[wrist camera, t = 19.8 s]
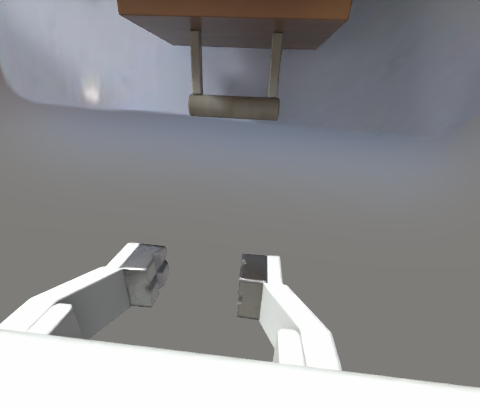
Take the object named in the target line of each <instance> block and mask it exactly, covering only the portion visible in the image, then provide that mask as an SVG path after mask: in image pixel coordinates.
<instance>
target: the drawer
mask: <svg viewBox="0 0 480 408" xmlns="http://www.w3.org/2000/svg"><path fill="white" fill-rule="evenodd" d="M117 4H118V11H119V15H121V16H122V17H124V18H126V19H128V20H130V21H131V22H133V23H135V24H137V25H138V26H140V27H142V28H144V29H145V30H147V31H149V32H151V33H152V34H154V35H156V36H158V37H160V38H161V39H163V40H165V41H167V42H168V43H170V44H172V45H180V46H191V71H192V93H193V94H190V96H189V100H188V108H189V113H190V115H191V116H199V117H218V118H237V119H257V120H277V119H278V114H279V104H280V99H279V98H277V90H278V80H279V70H280V60H281V49H306V50H316V49H317V48H318V47H319V46H320V45H321V44H322V43H323V42H325V41H326V40H327V39H328V38H329V37H330V36H331V35H332V34H333V33H334V32H336V31H337V30H338V29H339V28H340V27H341V26H342V25H343V24H344V23H345V22H347V21H348V19H349V15H350V10H351V4H352V0H117ZM202 46H211V47H243V48H271V60H270V72H269V84H268V96H267V97H268V98H266V97H244V96H222V95H202V94H203V78H202Z"/></svg>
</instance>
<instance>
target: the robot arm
mask: <svg viewBox="0 0 480 408" xmlns="http://www.w3.org/2000/svg"><path fill="white" fill-rule="evenodd" d="M166 256H167V249H166V247H165V246H157V245H149V244H139V243H128V244H127V245H126V246H125V247H124V248H123V249H122V250H121V251H120V252H119V253H118V254H117V255H116V256H115V257H114V258H113V260H112V261H111V262H110V263H109V264H108V265H107V266H106V267H100V268H98V269H95V270H93V271H91V272H89V273H86V274H84V275H82V276H80V277H77V278H75V279H73V280H71V281H68V282H66V283H64V284H62V285H59V286H57V287H55V288H53V289H50V290H48V291H46V292H44V293H42V294H39V295H37V296H35V297H32V298H30V299H29V300H28V301H27V302H25V303H24V304H23V305H22V306H21V307H20V308H18V309H17V310H16V311H15V312H14V313H13V314H11V315H10V316H9V317H8V318H7V319H6V320H4V321H3V322H2V323H1V324H0V408H480V388H477V387H468V386H461V385H452V384H445V383H436V382H428V381H420V380H412V379H403V378H395V377H388V376H380V375H371V374H363V373H354V372H347V371H342V368H341V364H340V361H339V358H338V354H337V351H336V347H335V343H334V340H333V336H332V333H331V332H330V331H329V330H328V329H327V328H326V327H325V326H324V324H323V323H322V322H321V321H320V320H319V319H318V318H317V317H316V316H315V315H314V314H313V313H312V312H311V311H310V309H309V308H308V307H307V306H306V305H305V304H304V303H303V302H302V301H301V300H300V299H299V298H298V297H297V296H296V295H295V293H294V292H293V291H292V290H291V289H290V288H289V287H288V286H287V285H283V281H282V271H281V261H280V257H279V256H269V255H267V256H263V255H252V254H243V255H242V266H241V269H240V278H239V291H238V294H239V298H238V311H237V317H241V318H248V319H256V320H259V322H260V323H261V325H262V327H263V329H264V331H265V332H266V334H267V336H268V338H269V340H270V342H271V343H272V345H273V347H274V349H275V352H274V358H273V362H265V361H257V360H250V359H241V358H233V357H225V356H217V355H209V354H201V353H193V352H184V351H176V350H168V349H159V348H152V347H144V346H136V345H127V344H119V343H111V342H103V341H95V340H88V339H89V338H91V337H92V336H93V335H95V334H96V333H97V332H99V331H100V330H101V329H103V328H104V327H105V326H106V325H108V324H109V323H110V322H112V321H113V320H114V319H116V318H117V317H118V316H120V315H121V314H122V313H123V312H125V311H126V310H128V309H129V308H130V307H131V306H139V307H153V305H154V303H155V301H156V299H157V298H158V296H159V289H160V288H161V287H163V286H164V284H165V283H166V280H167V277H168V271H169V266H168V263H167V261H166V260H165V258H166Z"/></svg>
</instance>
